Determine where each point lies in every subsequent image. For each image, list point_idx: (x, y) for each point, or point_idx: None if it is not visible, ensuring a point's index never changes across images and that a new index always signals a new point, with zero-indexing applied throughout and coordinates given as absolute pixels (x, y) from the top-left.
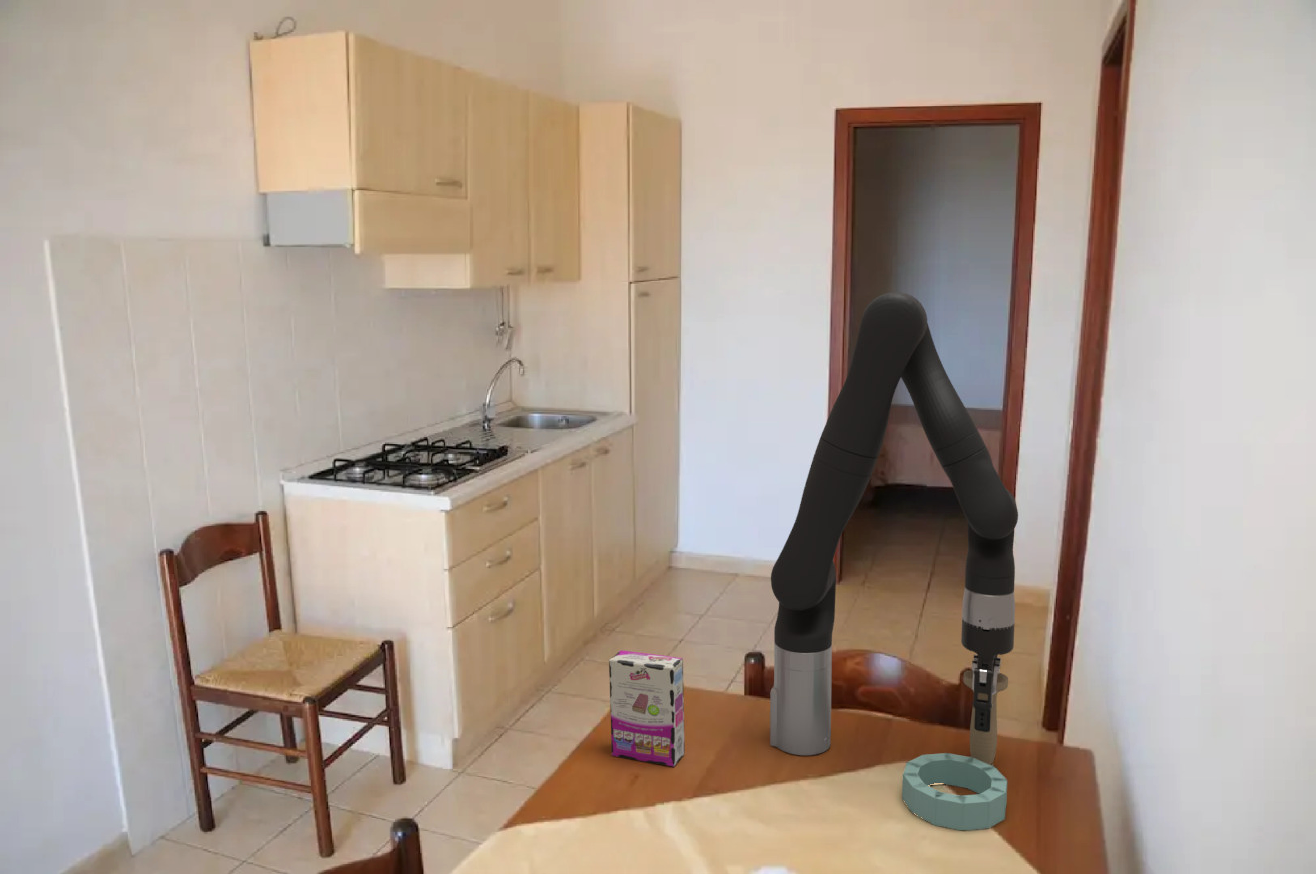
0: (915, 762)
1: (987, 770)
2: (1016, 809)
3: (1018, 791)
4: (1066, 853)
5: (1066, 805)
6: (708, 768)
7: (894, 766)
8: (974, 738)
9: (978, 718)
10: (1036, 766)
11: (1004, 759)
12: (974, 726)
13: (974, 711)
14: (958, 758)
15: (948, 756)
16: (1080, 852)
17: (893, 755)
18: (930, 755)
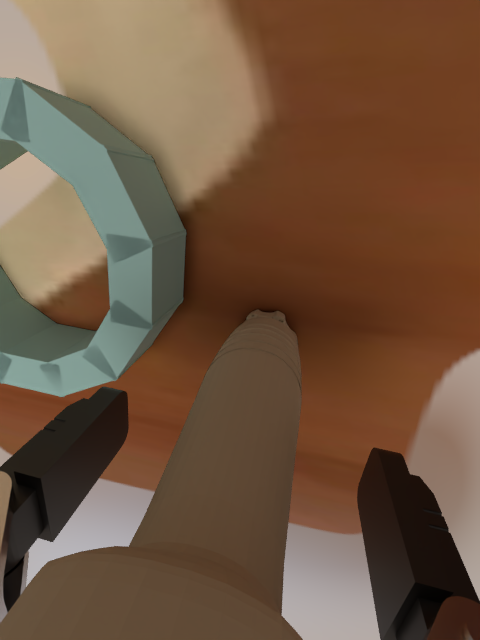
0: (32, 118)
1: (88, 358)
2: None
3: (177, 394)
4: (2, 424)
5: (154, 462)
6: None
7: (212, 44)
8: (216, 356)
9: (35, 439)
10: (308, 452)
11: (333, 393)
12: (98, 391)
13: (195, 426)
14: (126, 282)
15: (128, 249)
16: (16, 443)
17: (300, 27)
18: (111, 180)
